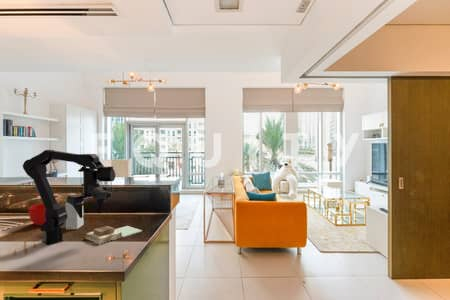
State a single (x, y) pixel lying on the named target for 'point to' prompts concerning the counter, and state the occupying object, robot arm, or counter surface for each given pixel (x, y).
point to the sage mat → (128, 231)
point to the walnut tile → (103, 230)
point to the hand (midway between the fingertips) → (90, 215)
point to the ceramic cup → (37, 214)
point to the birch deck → (103, 237)
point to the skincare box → (73, 217)
